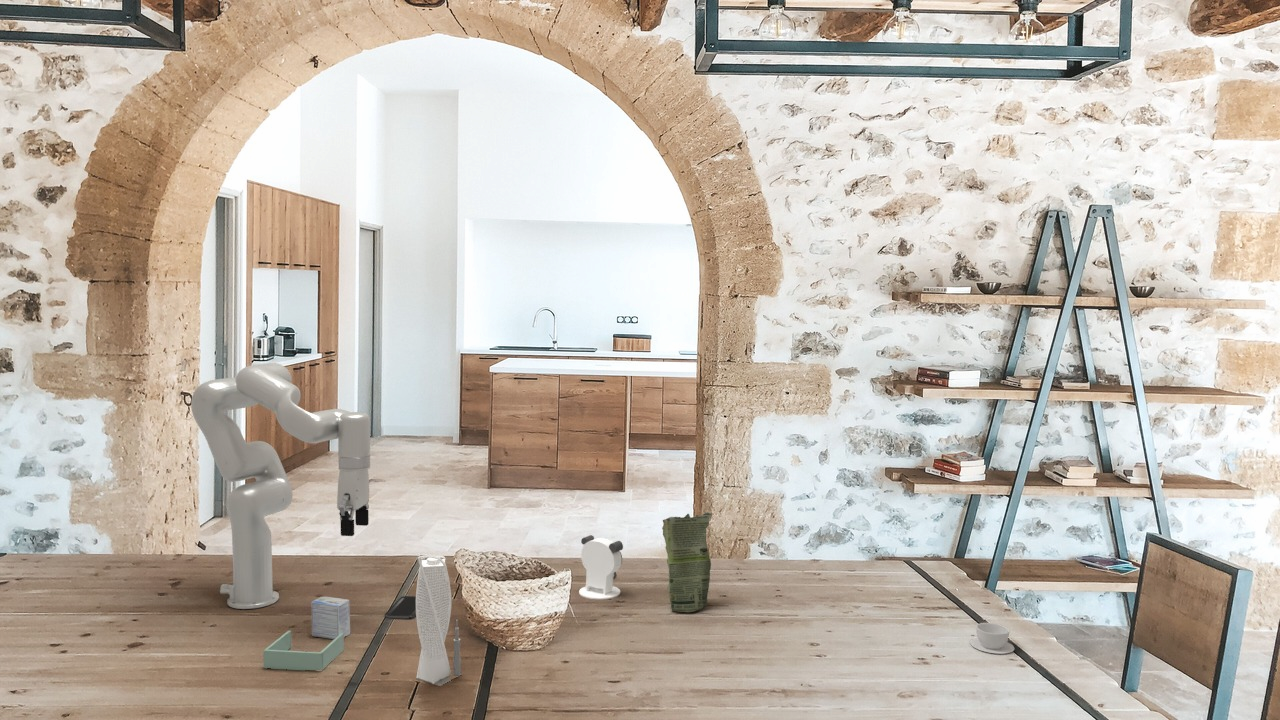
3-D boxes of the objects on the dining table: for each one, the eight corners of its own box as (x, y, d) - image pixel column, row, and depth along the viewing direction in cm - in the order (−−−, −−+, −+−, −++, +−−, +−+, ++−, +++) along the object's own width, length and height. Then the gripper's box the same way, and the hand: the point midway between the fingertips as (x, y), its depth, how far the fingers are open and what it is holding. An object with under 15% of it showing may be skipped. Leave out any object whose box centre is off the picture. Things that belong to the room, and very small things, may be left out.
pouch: (658, 610, 243) (660, 516, 241) (674, 596, 254) (675, 506, 252) (699, 616, 239) (701, 521, 237) (713, 602, 250) (715, 510, 248)
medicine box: (350, 634, 224) (350, 599, 224) (339, 641, 220) (338, 605, 219) (323, 630, 227) (322, 595, 226) (311, 636, 223) (310, 601, 222)
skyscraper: (435, 690, 195) (434, 559, 193) (407, 681, 199) (406, 553, 197) (463, 676, 202) (462, 549, 200) (435, 667, 207) (435, 543, 204)
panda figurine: (630, 591, 258) (630, 538, 257) (606, 602, 249) (607, 547, 248) (594, 583, 265) (595, 531, 264) (570, 594, 255) (571, 540, 254)
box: (263, 668, 204) (263, 650, 204) (288, 647, 216) (288, 630, 216) (321, 671, 203) (321, 653, 203) (343, 649, 215) (343, 633, 215)
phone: (383, 615, 235) (402, 595, 250) (383, 619, 235) (402, 599, 250) (413, 616, 235) (431, 596, 249) (413, 621, 235) (431, 600, 250)
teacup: (993, 658, 215) (994, 638, 215) (960, 643, 224) (961, 624, 224) (1023, 651, 220) (1024, 631, 220) (990, 636, 229) (991, 618, 228)
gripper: (352, 455, 239) (353, 520, 241) (325, 469, 222) (326, 539, 223) (381, 456, 239) (381, 521, 240) (356, 470, 222) (356, 540, 223)
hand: (354, 530), depth 232 cm, fingers open, 9 cm apart
